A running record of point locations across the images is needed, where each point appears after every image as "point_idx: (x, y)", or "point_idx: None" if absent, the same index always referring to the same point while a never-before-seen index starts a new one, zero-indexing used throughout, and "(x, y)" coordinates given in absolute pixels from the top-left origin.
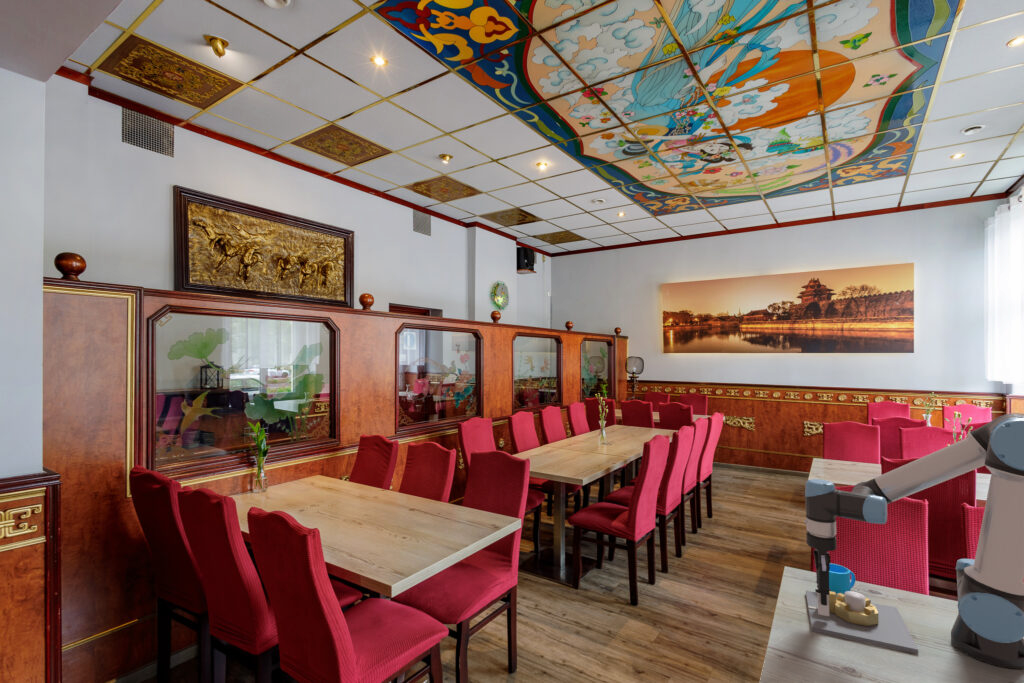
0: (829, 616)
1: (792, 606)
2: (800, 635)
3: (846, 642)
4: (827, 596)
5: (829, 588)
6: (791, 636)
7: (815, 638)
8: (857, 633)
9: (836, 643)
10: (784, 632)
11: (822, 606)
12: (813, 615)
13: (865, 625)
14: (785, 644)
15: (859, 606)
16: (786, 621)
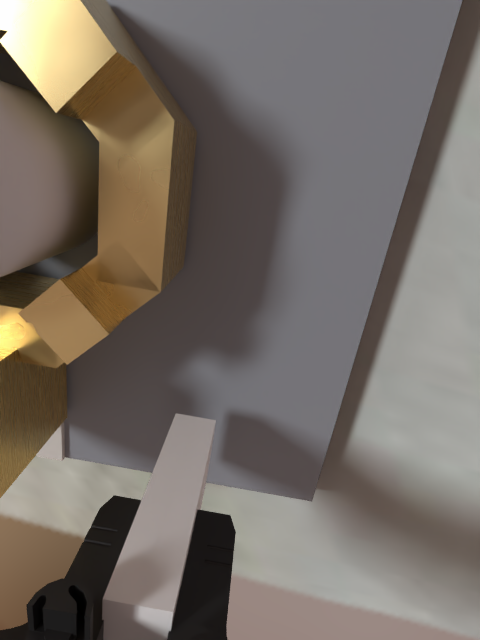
0: (127, 369)
1: (45, 498)
2: (371, 538)
3: (404, 338)
4: (179, 581)
5: (44, 613)
6: (391, 574)
7: (389, 484)
8: (332, 254)
9: (427, 398)
10: (357, 590)
11: (198, 509)
12: (155, 455)
13: (195, 149)
14: (473, 611)
15: (35, 162)
16: (237, 559)
